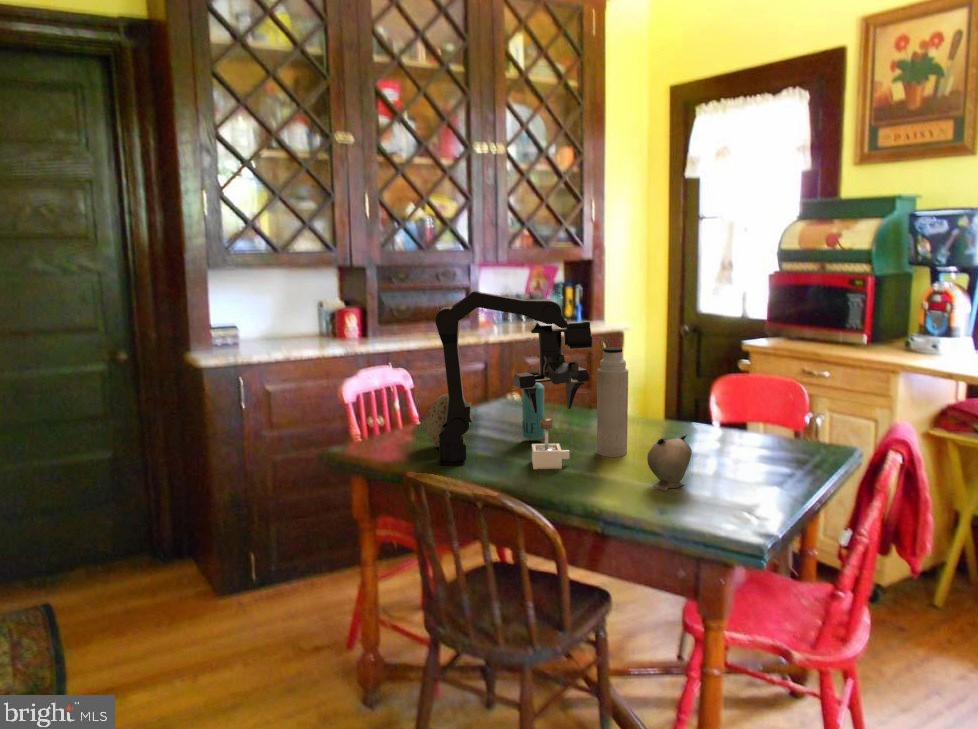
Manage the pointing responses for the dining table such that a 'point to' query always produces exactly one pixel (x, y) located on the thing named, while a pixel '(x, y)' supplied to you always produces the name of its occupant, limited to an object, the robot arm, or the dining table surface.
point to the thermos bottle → (612, 404)
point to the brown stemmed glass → (546, 433)
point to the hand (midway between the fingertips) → (552, 410)
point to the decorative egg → (437, 417)
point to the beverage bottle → (529, 417)
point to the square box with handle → (548, 457)
